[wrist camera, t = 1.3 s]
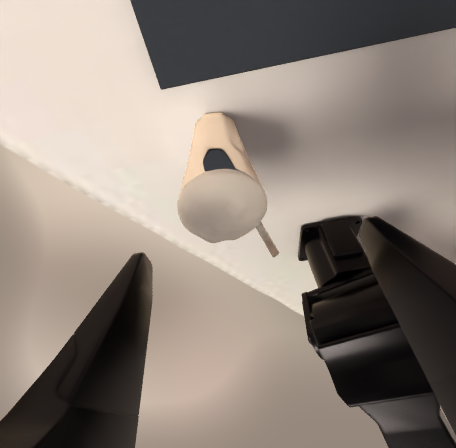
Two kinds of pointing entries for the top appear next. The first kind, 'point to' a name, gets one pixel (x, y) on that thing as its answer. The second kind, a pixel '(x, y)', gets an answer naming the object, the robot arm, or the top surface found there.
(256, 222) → the milkshake
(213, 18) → the mat
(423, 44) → the top surface
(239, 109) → the top surface
